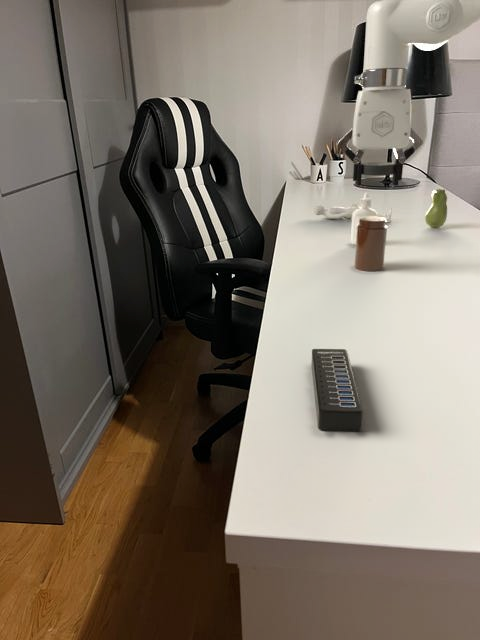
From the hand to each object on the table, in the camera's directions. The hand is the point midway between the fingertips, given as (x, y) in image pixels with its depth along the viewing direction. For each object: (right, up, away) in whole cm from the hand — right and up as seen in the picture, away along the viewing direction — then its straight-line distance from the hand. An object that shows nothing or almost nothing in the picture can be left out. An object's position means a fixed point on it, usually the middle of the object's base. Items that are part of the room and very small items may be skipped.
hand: (376, 183), depth 96 cm
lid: (0, +3, -1) cm, 3 cm away
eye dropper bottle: (+3, -8, +24) cm, 26 cm away
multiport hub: (-15, -35, -38) cm, 54 cm away
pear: (+26, -1, +39) cm, 47 cm away
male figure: (+6, +3, +50) cm, 50 cm away
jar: (0, -15, +7) cm, 17 cm away
